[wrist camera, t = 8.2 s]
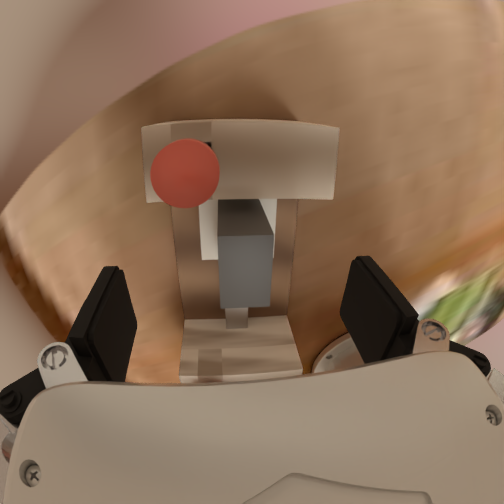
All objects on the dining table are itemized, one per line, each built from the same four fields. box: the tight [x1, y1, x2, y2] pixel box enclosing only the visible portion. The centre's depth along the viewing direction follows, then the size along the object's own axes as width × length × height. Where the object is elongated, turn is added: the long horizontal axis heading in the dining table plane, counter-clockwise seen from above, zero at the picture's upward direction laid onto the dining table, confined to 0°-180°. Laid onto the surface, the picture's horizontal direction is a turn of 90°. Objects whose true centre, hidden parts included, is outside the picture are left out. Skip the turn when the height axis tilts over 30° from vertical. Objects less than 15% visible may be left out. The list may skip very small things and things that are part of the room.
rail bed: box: [141, 119, 340, 383], centre depth 22 cm, size 22×10×8 cm, turn 179°
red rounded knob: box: [150, 138, 220, 208], centre depth 13 cm, size 3×3×4 cm
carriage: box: [199, 199, 277, 309], centre depth 18 cm, size 5×5×9 cm
